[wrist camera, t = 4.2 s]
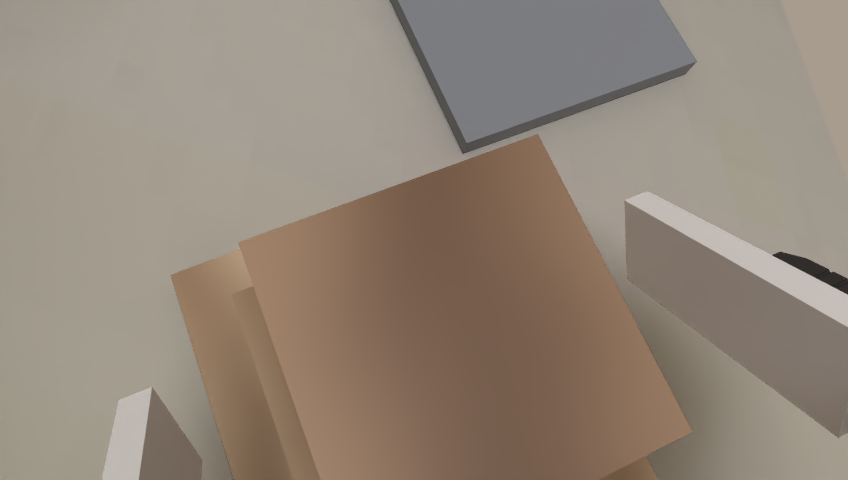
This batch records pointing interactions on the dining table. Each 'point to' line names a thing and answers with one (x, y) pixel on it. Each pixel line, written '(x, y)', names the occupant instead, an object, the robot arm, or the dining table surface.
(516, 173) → the walnut block
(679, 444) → the dining table surface
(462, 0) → the rubber mat
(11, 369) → the dining table surface
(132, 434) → the robot arm
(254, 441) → the oak pocket board
